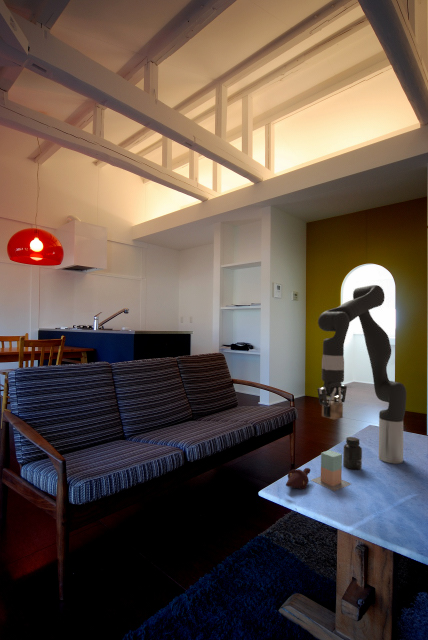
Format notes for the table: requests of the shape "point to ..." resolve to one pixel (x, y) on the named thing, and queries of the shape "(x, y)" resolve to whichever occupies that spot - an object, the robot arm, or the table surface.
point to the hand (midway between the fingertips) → (332, 415)
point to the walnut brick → (334, 410)
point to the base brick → (331, 476)
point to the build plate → (334, 488)
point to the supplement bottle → (352, 454)
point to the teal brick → (331, 460)
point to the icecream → (298, 478)
